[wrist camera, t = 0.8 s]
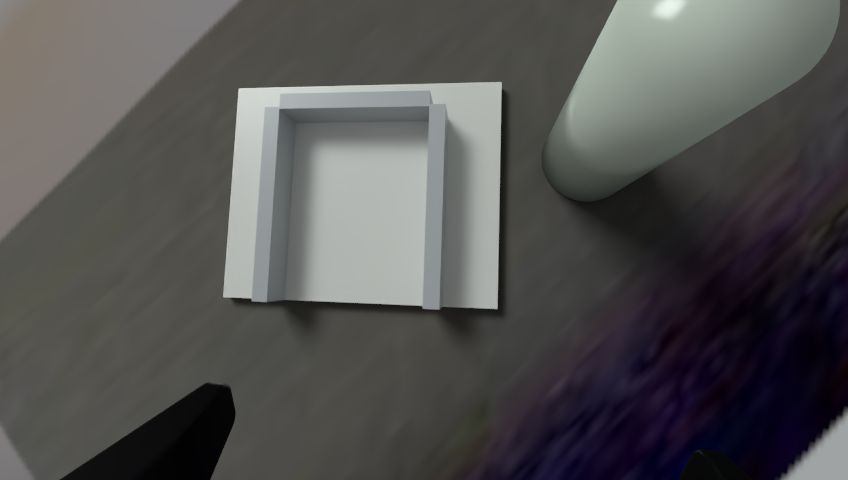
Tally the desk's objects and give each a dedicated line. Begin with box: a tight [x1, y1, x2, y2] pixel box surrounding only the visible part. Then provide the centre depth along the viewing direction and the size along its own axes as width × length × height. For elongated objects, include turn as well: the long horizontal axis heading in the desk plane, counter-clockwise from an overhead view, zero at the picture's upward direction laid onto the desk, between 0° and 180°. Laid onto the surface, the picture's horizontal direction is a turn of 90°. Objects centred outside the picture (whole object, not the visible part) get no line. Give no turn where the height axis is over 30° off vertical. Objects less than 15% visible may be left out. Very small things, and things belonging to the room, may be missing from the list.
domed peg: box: [542, 0, 840, 202], centre depth 16 cm, size 5×5×12 cm
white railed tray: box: [223, 82, 502, 310], centre depth 22 cm, size 12×15×3 cm
